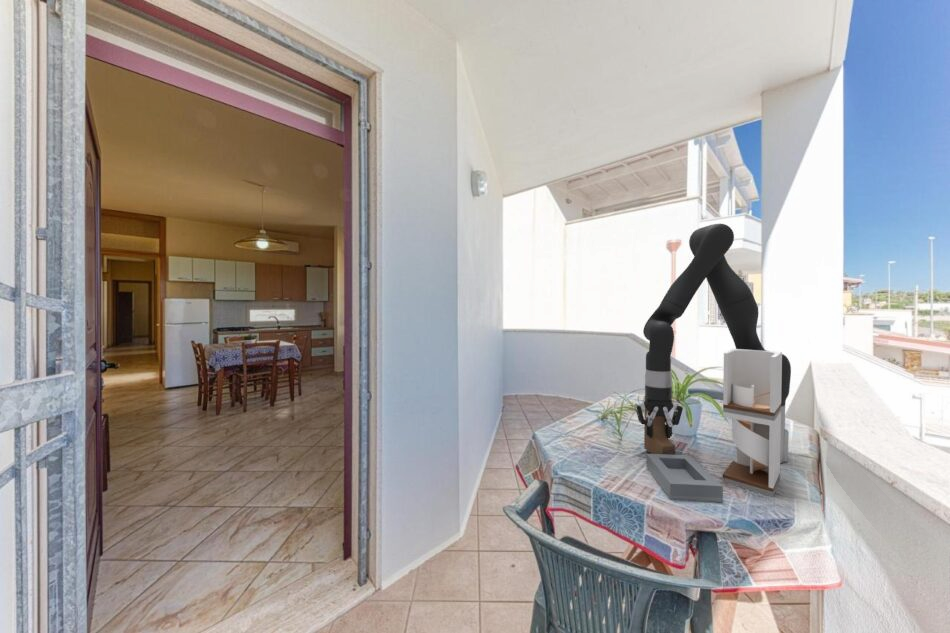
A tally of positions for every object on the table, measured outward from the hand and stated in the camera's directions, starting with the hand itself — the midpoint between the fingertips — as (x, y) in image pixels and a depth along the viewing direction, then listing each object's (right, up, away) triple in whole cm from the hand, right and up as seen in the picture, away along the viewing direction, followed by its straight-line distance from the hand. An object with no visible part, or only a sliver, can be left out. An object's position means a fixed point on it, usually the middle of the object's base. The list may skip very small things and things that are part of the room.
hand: (658, 436), depth 113 cm
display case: (+17, -7, -16) cm, 24 cm away
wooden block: (0, -6, 0) cm, 6 cm away
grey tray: (-2, -7, -17) cm, 18 cm away
